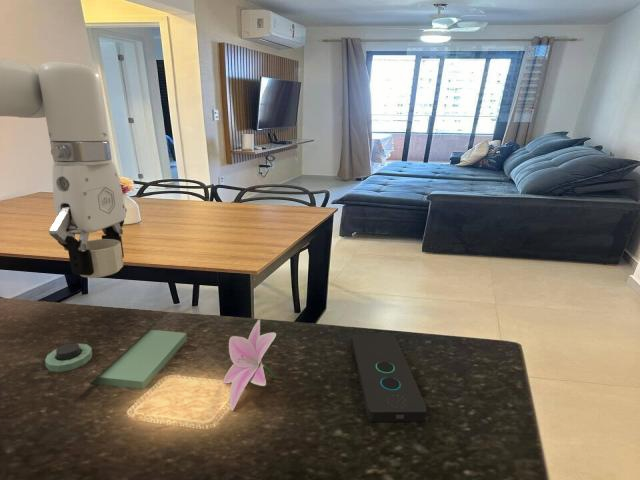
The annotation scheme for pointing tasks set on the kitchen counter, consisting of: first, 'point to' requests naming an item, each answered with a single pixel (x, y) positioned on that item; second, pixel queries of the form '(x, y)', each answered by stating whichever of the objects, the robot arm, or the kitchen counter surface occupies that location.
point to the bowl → (105, 257)
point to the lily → (247, 362)
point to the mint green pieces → (128, 360)
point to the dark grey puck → (68, 351)
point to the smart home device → (386, 380)
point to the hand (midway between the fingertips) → (99, 264)
